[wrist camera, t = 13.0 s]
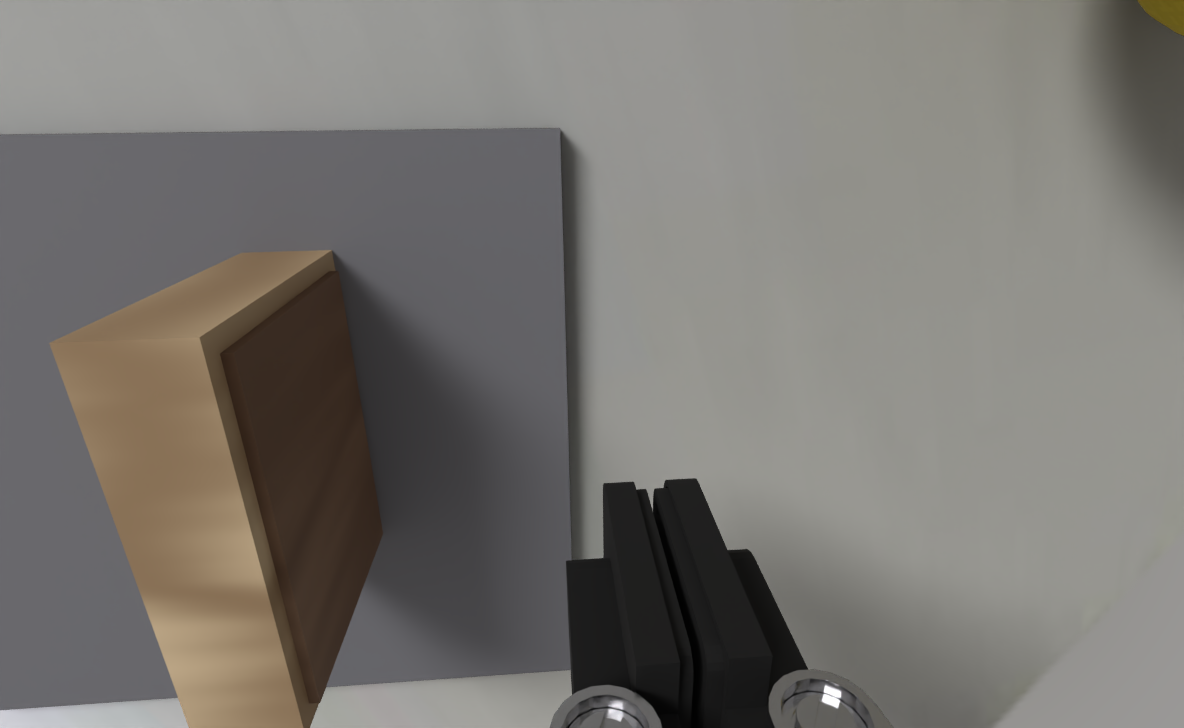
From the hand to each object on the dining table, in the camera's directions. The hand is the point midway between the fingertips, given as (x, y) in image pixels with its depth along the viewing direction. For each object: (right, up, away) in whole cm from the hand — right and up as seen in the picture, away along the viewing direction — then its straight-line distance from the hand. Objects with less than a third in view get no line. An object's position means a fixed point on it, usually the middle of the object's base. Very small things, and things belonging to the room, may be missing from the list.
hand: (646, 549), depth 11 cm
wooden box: (-8, -3, +3) cm, 9 cm away
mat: (-11, +1, +5) cm, 12 cm away
